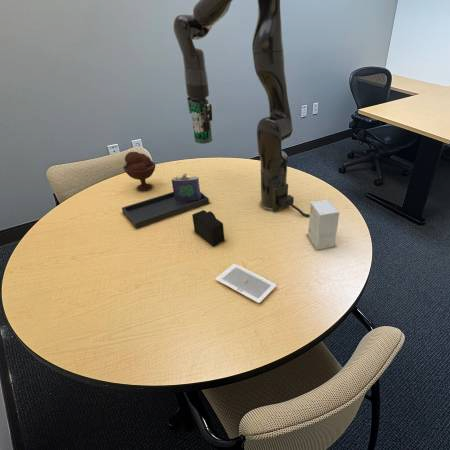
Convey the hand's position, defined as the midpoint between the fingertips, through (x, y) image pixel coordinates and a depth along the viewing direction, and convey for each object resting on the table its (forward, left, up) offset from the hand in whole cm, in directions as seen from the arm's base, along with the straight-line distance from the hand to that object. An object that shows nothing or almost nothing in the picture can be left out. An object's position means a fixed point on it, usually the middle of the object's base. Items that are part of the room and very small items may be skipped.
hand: (202, 128), depth 127 cm
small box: (-59, -7, -22) cm, 63 cm away
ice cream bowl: (+8, +23, -22) cm, 33 cm away
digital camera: (-35, +19, -22) cm, 45 cm away
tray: (-11, +22, -21) cm, 33 cm away
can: (0, 0, -5) cm, 5 cm away
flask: (-11, +15, -21) cm, 28 cm away
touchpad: (-60, +23, -22) cm, 68 cm away
